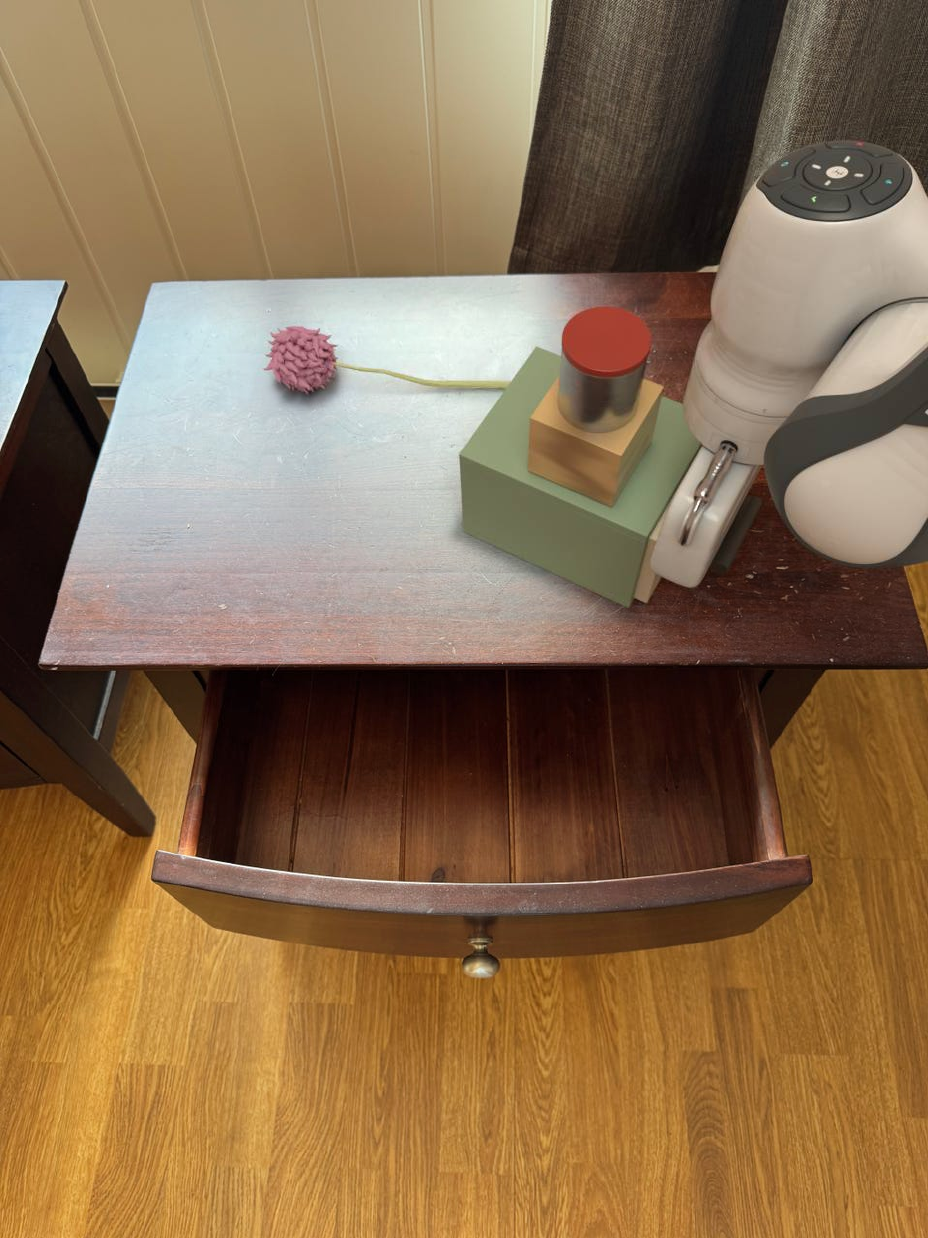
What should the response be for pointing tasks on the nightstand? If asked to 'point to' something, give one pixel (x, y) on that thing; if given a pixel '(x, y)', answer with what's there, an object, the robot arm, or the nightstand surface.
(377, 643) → the nightstand surface
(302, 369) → the artificial flower
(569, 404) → the tin
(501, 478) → the cabinet
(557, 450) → the riser
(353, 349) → the nightstand surface
